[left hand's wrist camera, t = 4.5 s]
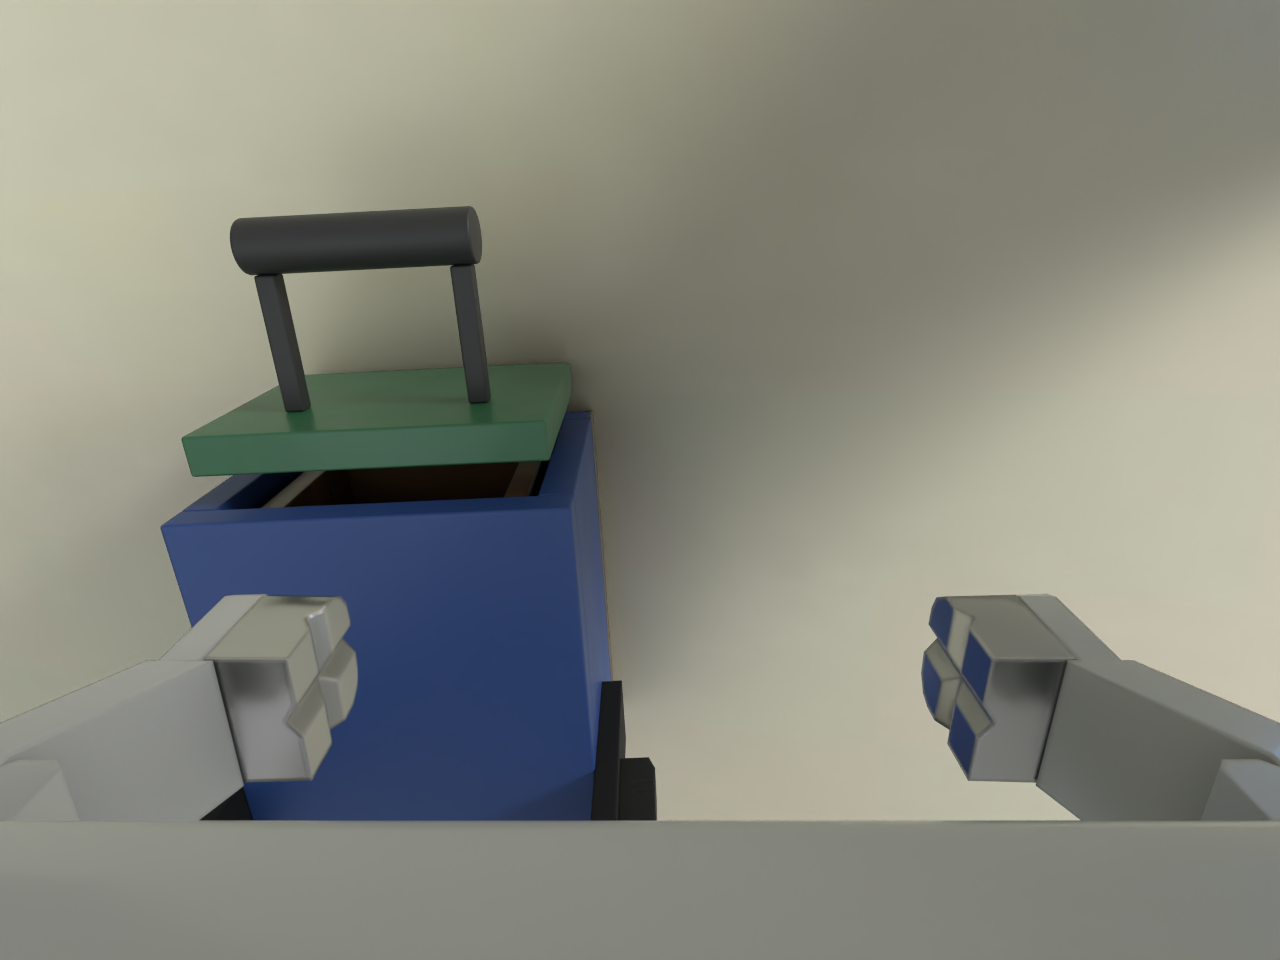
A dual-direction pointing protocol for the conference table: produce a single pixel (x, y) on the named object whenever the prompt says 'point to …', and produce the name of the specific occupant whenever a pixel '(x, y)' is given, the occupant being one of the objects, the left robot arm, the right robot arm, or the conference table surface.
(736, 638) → the conference table surface
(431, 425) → the drawer
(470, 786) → the blue block
